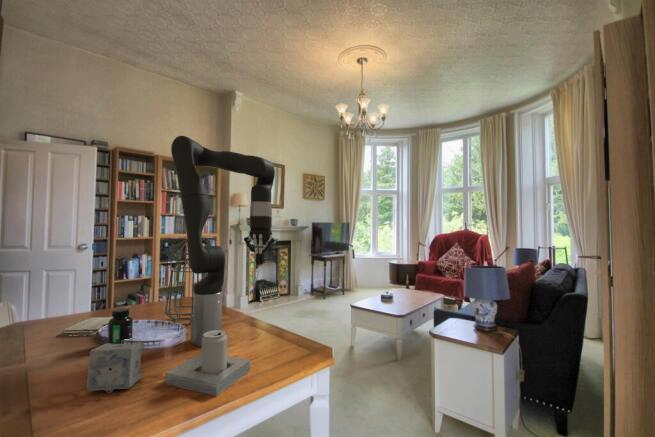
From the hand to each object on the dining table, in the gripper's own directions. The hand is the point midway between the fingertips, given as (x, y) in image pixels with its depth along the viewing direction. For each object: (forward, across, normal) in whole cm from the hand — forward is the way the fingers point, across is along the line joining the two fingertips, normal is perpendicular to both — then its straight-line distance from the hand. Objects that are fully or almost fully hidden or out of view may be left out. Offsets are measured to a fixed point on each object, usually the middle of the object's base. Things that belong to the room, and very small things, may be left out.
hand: (260, 264), depth 111 cm
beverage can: (+27, +3, -27) cm, 38 cm away
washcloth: (+28, -67, -12) cm, 74 cm away
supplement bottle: (+27, -41, -20) cm, 53 cm away
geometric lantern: (+27, -40, +8) cm, 49 cm away
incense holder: (+27, -17, -39) cm, 50 cm away
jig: (+27, +2, -27) cm, 38 cm away
